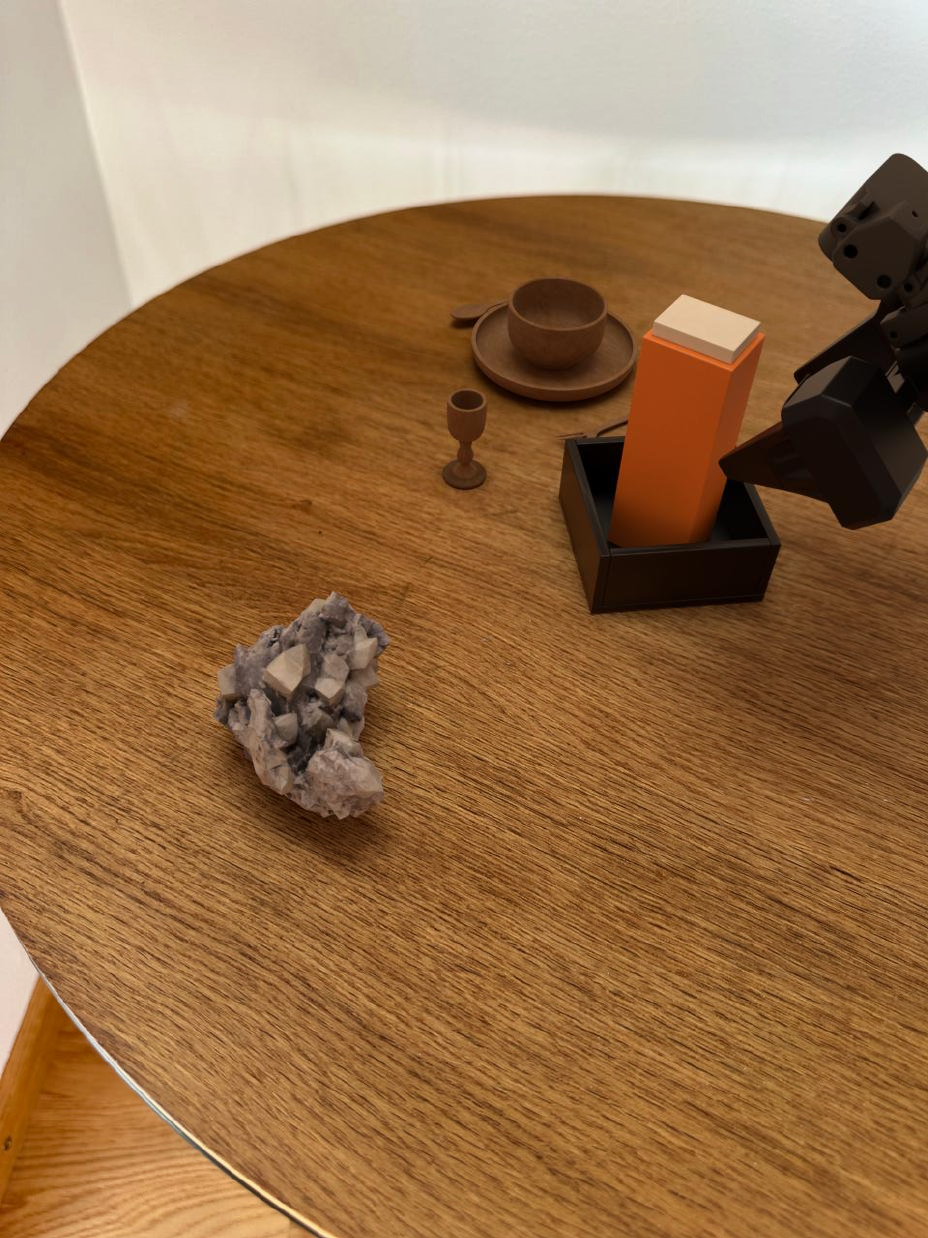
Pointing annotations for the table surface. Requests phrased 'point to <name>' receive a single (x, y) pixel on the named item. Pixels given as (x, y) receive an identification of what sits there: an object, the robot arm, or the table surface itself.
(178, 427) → the table surface
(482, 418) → the place setting
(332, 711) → the mineral specimen
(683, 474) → the block
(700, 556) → the open black square box
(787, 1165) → the table surface
